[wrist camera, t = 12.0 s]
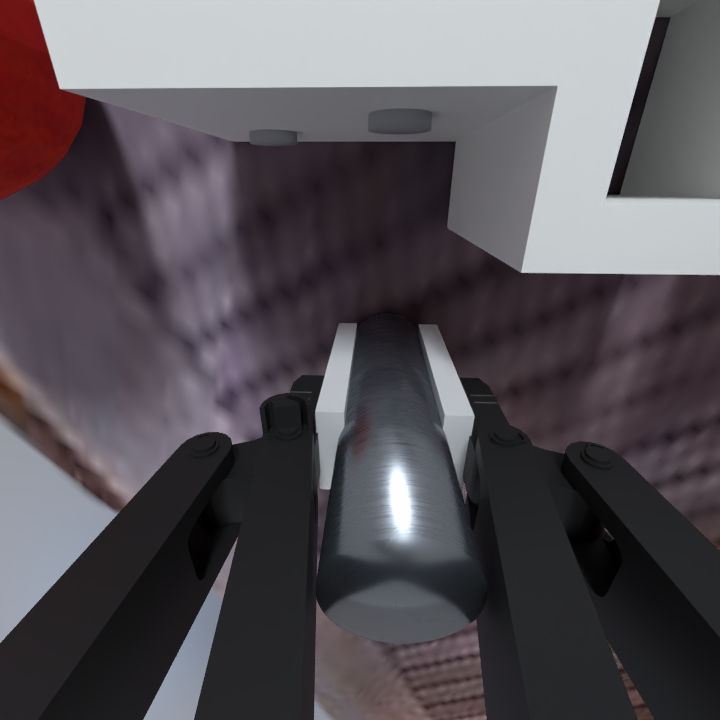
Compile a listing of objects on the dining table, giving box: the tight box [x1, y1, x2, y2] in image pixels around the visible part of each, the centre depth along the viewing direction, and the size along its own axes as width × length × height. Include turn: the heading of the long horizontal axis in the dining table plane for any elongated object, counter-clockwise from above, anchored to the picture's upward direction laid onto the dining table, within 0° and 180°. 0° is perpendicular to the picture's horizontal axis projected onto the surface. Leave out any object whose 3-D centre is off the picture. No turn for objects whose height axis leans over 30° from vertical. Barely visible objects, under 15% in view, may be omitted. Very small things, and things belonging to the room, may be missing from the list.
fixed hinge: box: [34, 0, 720, 275], centre depth 9 cm, size 7×15×8 cm, turn 90°
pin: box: [316, 313, 488, 644], centre depth 11 cm, size 3×3×11 cm
